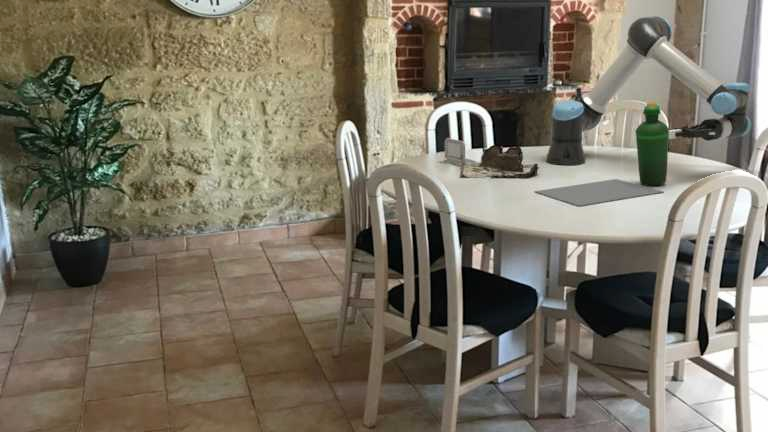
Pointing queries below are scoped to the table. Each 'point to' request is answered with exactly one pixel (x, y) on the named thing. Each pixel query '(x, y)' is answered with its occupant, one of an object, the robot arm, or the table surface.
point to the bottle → (652, 147)
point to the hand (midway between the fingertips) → (666, 135)
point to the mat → (598, 192)
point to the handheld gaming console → (456, 153)
